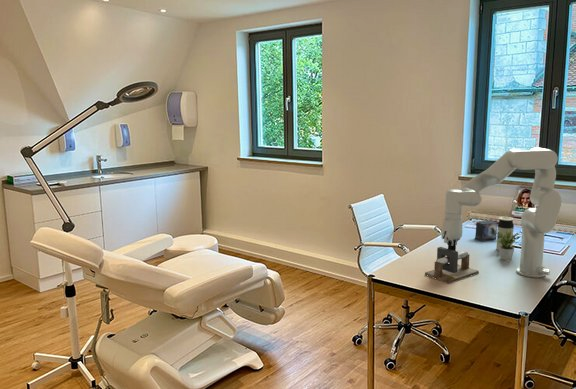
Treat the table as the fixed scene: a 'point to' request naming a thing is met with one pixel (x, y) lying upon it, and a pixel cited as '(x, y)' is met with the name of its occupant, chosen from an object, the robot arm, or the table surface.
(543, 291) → the table surface
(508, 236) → the house plant
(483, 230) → the small box
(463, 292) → the table surface
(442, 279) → the pipe stand
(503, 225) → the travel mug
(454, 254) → the grey flat upright plate
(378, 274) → the table surface
